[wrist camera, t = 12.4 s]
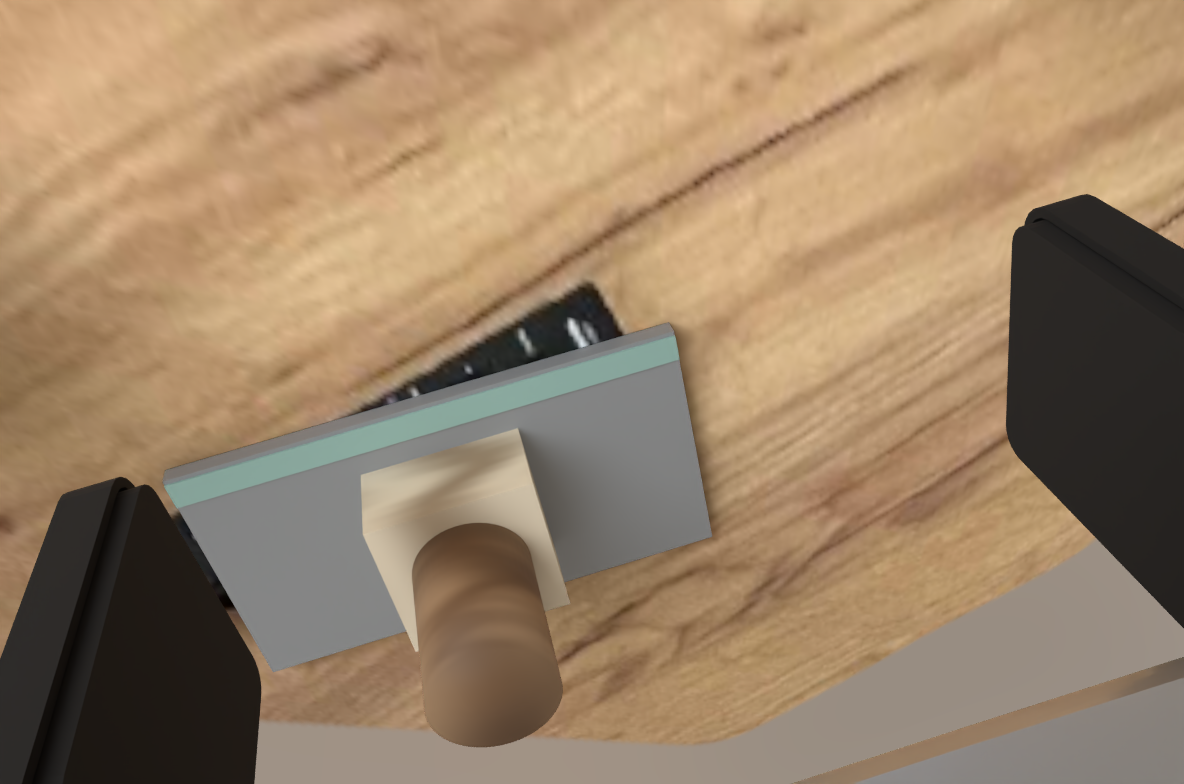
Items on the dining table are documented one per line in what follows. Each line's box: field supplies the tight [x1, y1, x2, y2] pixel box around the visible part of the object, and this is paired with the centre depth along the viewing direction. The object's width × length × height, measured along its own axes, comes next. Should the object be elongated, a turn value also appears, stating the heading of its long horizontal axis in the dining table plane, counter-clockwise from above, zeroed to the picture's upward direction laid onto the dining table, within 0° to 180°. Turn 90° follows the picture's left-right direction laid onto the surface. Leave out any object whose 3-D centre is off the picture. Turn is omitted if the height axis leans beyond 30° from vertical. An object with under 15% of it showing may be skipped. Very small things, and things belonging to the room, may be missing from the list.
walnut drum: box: [412, 523, 563, 747], centre depth 39 cm, size 5×5×7 cm
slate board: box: [163, 322, 712, 672], centre depth 46 cm, size 22×12×1 cm, turn 103°
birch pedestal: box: [361, 428, 570, 652], centre depth 44 cm, size 7×7×4 cm
